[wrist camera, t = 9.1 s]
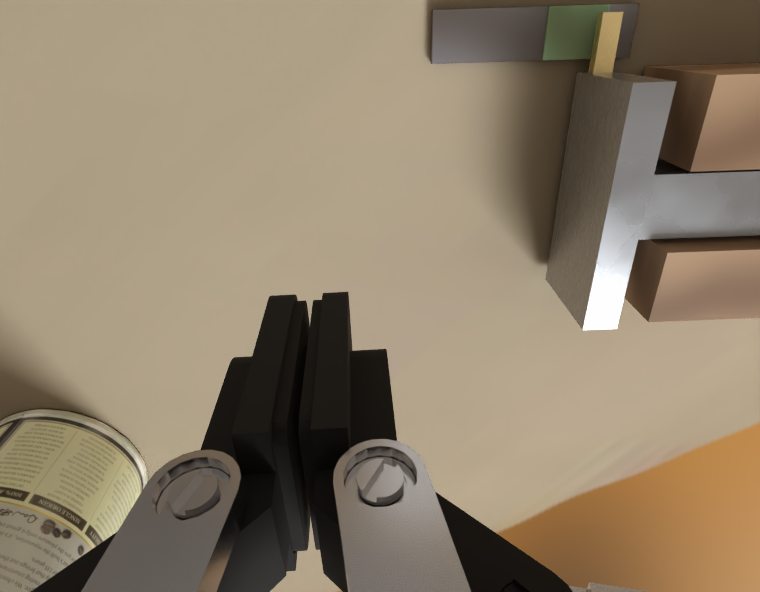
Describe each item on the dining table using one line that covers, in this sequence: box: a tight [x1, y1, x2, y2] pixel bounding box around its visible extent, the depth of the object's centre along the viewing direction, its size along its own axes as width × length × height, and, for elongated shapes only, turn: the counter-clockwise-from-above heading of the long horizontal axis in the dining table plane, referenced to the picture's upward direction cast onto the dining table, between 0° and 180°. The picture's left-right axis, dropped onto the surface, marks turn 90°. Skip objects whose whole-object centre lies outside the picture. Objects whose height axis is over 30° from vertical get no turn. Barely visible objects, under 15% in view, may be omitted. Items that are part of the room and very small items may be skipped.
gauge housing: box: [431, 3, 760, 322], centre depth 21 cm, size 13×20×6 cm, turn 92°
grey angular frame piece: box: [546, 12, 760, 330], centre depth 21 cm, size 12×10×5 cm
